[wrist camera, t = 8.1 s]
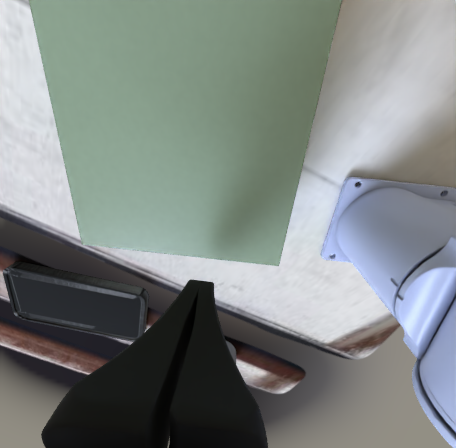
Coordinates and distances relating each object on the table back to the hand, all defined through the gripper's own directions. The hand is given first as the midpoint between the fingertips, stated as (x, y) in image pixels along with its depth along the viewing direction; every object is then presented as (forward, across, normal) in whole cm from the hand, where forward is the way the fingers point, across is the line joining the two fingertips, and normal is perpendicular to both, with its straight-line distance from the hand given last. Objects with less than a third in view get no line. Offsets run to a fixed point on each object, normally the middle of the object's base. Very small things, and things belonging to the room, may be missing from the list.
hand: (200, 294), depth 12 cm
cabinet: (+9, +2, -8) cm, 12 cm away
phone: (+9, +15, +12) cm, 21 cm away
